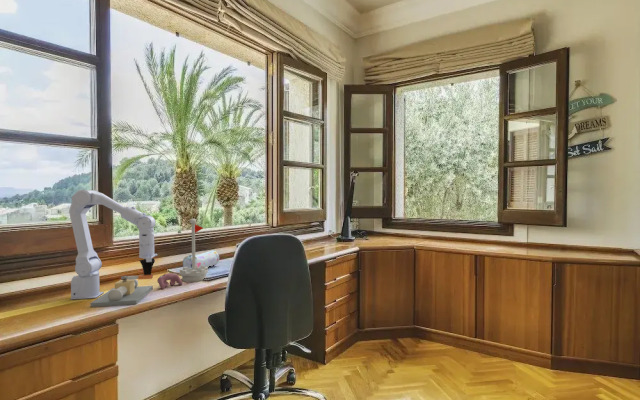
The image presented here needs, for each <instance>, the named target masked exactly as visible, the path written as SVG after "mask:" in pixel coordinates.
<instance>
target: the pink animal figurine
mask: <svg viewBox="0 0 640 400" xmlns="http://www.w3.org/2000/svg"><path fill="white" fill-rule="evenodd" d="M168 281H169V282H168ZM157 283H158V285H159V287H160V288H161V290H165V288H167V287H168V286H169V285H170V286H174V285H175V284H176V283H177V284H178V285H179V286H182V285H183V280H182V278H181V277H180V276H179V274H177V273H176V272H174V273H171V272H169V273H164V274H163V275H160V276H159V277H158V278H157Z"/></svg>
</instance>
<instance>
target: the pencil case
mask: <svg viewBox="0 0 640 400" xmlns="http://www.w3.org/2000/svg"><path fill="white" fill-rule="evenodd" d="M195 262H196V266H197V268H201V266H206V267H209V266H211V267H214V266H216V265H218V264H219V262H220V255H219V253H218V252H217V251H216V250H213V249H212V250H209V251H206V252H203V253H199V254H195ZM213 265H214V266H213ZM183 267H188V269H189V268H192V254H189V255H186V256H185V257H184V258H183V259H182V268H183ZM209 268H210V267H209Z"/></svg>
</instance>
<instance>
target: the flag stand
mask: <svg viewBox="0 0 640 400" xmlns="http://www.w3.org/2000/svg"><path fill="white" fill-rule="evenodd" d="M189 223H190V224H191V255H192V268H189V269H188V267H183V266H182V268H180V269H179V275H180V276H181V277H182V278H181V280H182V282H186V283H187V282H188V283H189V282H190V283H193V282H199V281H203V279H204V278H205V277H207V273H209V268H208V267H206V266H201V268H197V266H196V262H195V255H196V233H198V232H199V231H201V230H203V229H204V227H202V226H200V225H197V219H195V218H191V219H190V220H189ZM204 280H205V279H204Z"/></svg>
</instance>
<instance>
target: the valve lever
mask: <svg viewBox="0 0 640 400" xmlns="http://www.w3.org/2000/svg"><path fill="white" fill-rule="evenodd" d="M153 276H154V274H153V273H151V274H144V273H143V274H139V275H122V276H120V280H126V279H127V280H128V279H136V280H137V281H139V280H152V279H153Z"/></svg>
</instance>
